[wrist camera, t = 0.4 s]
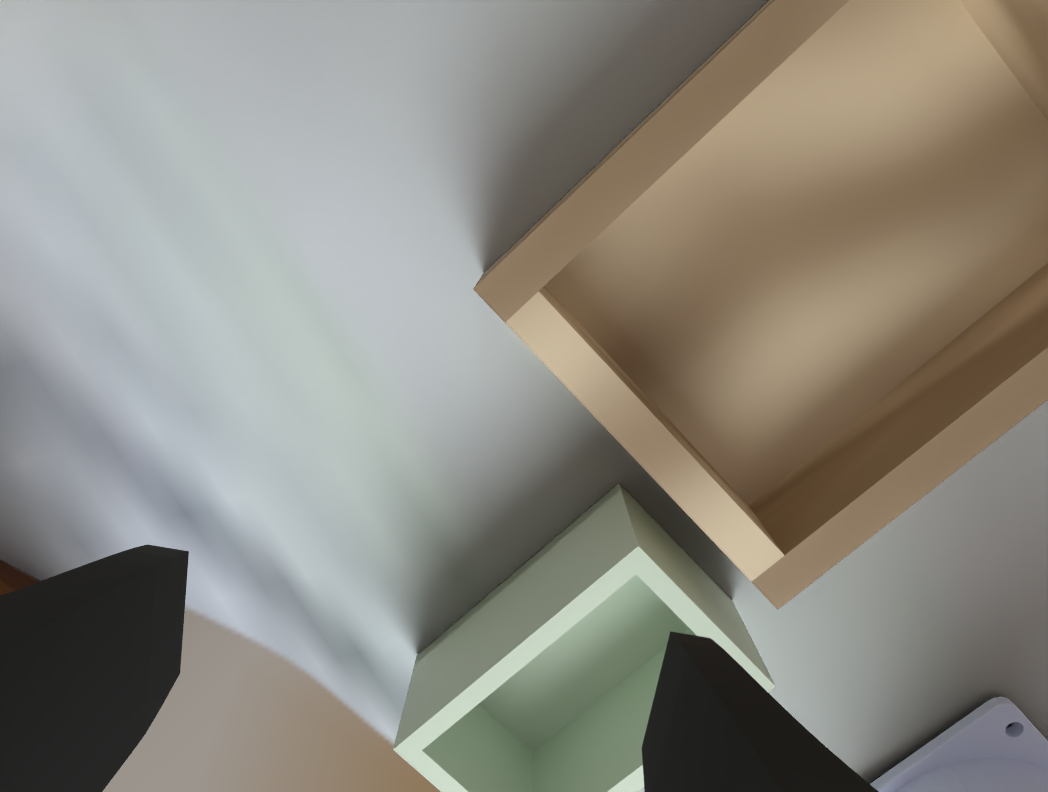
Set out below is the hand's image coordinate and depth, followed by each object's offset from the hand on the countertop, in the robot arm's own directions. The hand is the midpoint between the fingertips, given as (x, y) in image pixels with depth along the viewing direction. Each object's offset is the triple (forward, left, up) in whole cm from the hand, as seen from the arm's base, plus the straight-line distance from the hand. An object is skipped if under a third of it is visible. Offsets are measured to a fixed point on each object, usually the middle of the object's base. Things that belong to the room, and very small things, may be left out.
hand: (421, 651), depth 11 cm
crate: (-2, -10, -10) cm, 14 cm away
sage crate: (-6, +2, -10) cm, 12 cm away
